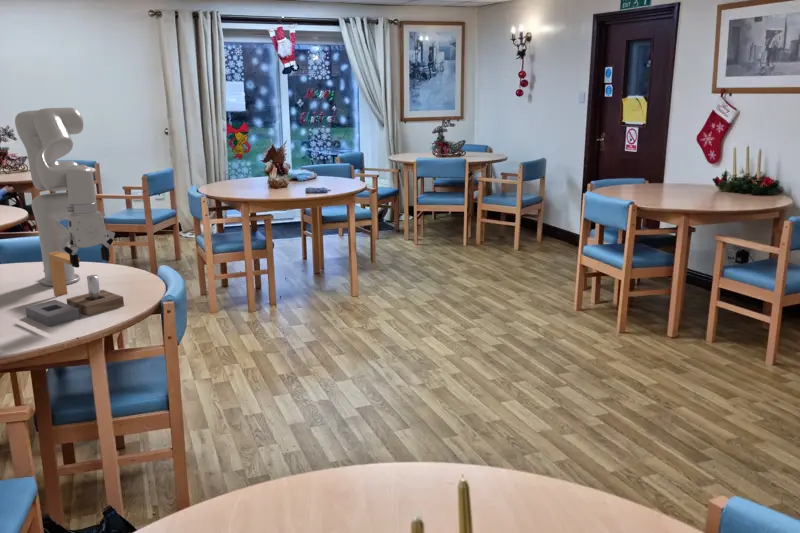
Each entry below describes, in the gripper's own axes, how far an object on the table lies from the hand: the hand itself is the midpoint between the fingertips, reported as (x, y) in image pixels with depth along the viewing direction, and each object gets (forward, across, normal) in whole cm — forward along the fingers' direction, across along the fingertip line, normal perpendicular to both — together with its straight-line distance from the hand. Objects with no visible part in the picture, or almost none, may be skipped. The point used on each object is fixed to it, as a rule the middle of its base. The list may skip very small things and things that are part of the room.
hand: (91, 263), depth 210 cm
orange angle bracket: (+15, 0, +18) cm, 23 cm away
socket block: (+15, 0, +1) cm, 15 cm away
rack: (+15, -13, +2) cm, 20 cm away
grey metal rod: (+14, 0, +1) cm, 14 cm away
